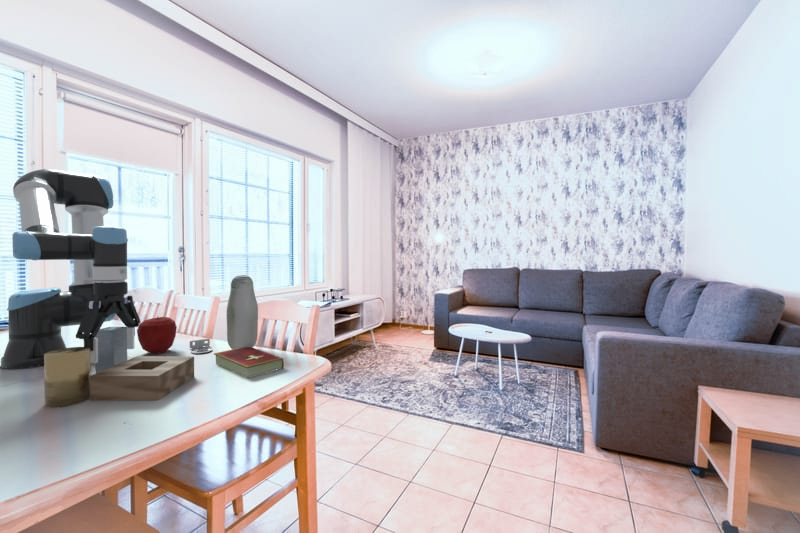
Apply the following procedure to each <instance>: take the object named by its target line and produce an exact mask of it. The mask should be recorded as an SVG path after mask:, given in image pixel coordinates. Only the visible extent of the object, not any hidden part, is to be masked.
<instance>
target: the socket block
mask: <svg viewBox="0 0 800 533" xmlns="http://www.w3.org/2000/svg"><path fill="white" fill-rule="evenodd" d="M193 378H195V356H194V355H193V356H187V355H186V356H175V355H174V356H170V355H169V356H165V355H161V356H160V355H159V356H156V355H155V356H154V355H153V356H150V355H149V356H147V355H144V356H140V355H139V356H138V355H137V356H134V357H132V358H130V359H127V361H125V362H122V363H120V364H117V365H115V366H112V367H110V368H108V369H105V370H103V371H100V372H98V373H96V372H95V373H94V374H92V375H91V376H90V398H89V400H90V401H159V400H161V399H162V398H164V397H166V396H167V395H168V394H170V393H172V392H173V391H175V390H176V389H178V388H180V387H181V386H182V385H184V384H185V383H187V382H189V381H190V380H192V379H193Z"/></svg>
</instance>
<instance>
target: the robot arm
mask: <svg viewBox="0 0 800 533" xmlns="http://www.w3.org/2000/svg"><path fill="white" fill-rule="evenodd" d="M12 189H13V191H12V192H13V193H12V194H13V197H14V199H16V201H17V202H18V204H19V206H18V207H19V215H20V216H19V217H20V226H21V231H15V232H13V233H12V238H11V239H12V240H11V241H12V256H13V258H14V259H16V260H26V261H27V260H31V261H55V260H57V261H58V260H59V261H60V260H63V261H64V260H65V261H66V260H70V261H71V260H73V277H74V281H72V283H71V284H69V285H68V291H62V289H61V288H60V287H47V288H46V287H45V288H37V289H31V290H24V291H19V292H16V293H13V294H11V295H10V296H9V297H8V302H7V303H8V304H7V309H6V310H7V311H8V342H7V345H6V346H5V347H6V348H5V350H4V352H3V356H2V357H0V358H1V359H0V368H2V369H7V370H10V369H11V370H16V369H19V370H20V369H29V368H36V367H42V366H43V367H44V354H45V353H47V352H50V351H53V350H58V349H64V348H67V346H66V344H65V341H64V338H63V336H62V327H69V326H70V327H71V326H78V329H77V332H76V334H75V338H76V339H79V340H83V347H89V348H90V363H91V364H95V363H97V362H98V338H95V336H96V335H97V333H98V331H99V329H102V328H101V327H102V326H103V325H104V323H105V322H110V321H113V320H114V319H115V318H116V316H117V318H119V320H120V321H121V322H122V323H123V325H124V327H127V350H134V349H135V335H136V330H135V328H138V327H139V325H140V324H141V319H140V316H139V313H138V311H137V309H136V306H135V304H134V299H133V295H128V289H129V288H128V287H129V286H128V282H127V281H126V280H128V240H129V239H128V235H127V234H128V233H127V232H128V231H127V229H125V228H124V227H119V226H117V227H116V226H104V225H105V224H104V223H105V222H104V216H105V215H107V214H108V213H109V209H113V206H114V193H113V192H114V191H113V188H112V185H111V183H110V181H109V179H107V178H106V177H104V176H100V175H95V174H92V173H90V174H88V173H79V172H74V171H66V170H58V169H54V168H52V169H51V168H46V169H45V168H42V169H37V170H33V171H30V172H27V173H25V174H24V175H22V176H20V177H19V178H18V179H17V180H16V181H15V183H14V185H13V188H12ZM55 204H56V205H64V209H65V210H64V211H66V212H67V213H68V214H70V215H71V233H70V232H69V233H68V232H67V233H66V232H65V233H64V232H60V227H59V224H58V217H57V212H56V208H55Z"/></svg>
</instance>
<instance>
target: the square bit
mask: <svg viewBox="0 0 800 533" xmlns="http://www.w3.org/2000/svg"><path fill="white" fill-rule="evenodd" d="M95 338H98V362H97V363H94V364H95V374H96V373H98V372H100V371H103V370H105V369H108V368H110V367H112V366H115V365H117V364H120V363H122V362H125V361H127V360H128V349H127V327H126V326H108V327H103V328H100V329H99V331H98V333H97V335H96V336H95Z"/></svg>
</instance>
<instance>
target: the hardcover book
mask: <svg viewBox="0 0 800 533" xmlns="http://www.w3.org/2000/svg"><path fill="white" fill-rule="evenodd" d="M213 355H215V364H216V365H217V364H218V366H219V365H220V367H221V368H224V369H226V370H228V371H230V370H231V372H232V371H233V372H232V373H234V374H237V375H239V376H241V375H242V376H241V377H243V376H244V378H246V379H250V377H251V378H254V377H257V376H256V375H258V376H261V375H260V374H262V375H264V374H263V373H265V374H267V373H266V372H269V373H271V372H270V371H272V372H274V371H273V370H276V369H279V370H281V369H280V368H283V369H284V365H285V364H284V362H285V361H284V358H283V357H280V356H278V355H275V354H272V353H269V352H266V351H263V350H260V349H257V348H254V347H253V348H252V347H249V346H247V347H242V348H237V349H233V350H232V349H228V350H223V351H219V352H214V353H213ZM276 371H277V370H276ZM253 376H254V377H253Z"/></svg>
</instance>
